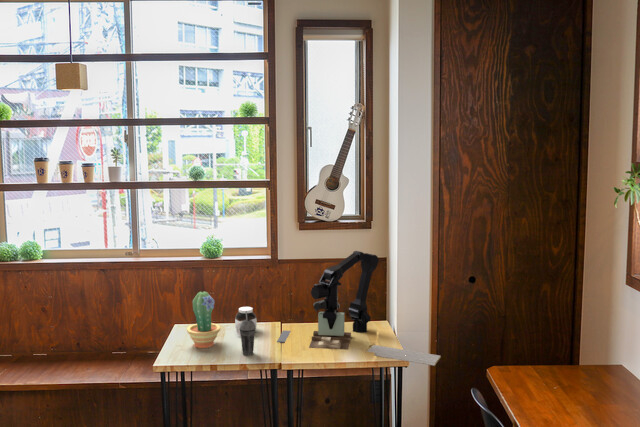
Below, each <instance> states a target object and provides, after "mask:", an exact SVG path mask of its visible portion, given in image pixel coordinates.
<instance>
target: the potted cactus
mask: <svg viewBox="0 0 640 427" xmlns="http://www.w3.org/2000/svg"><path fill="white" fill-rule="evenodd" d="M215 303H216V302H215V299H214V298H213V297H212V296H211V295H210V294H209V292H208V291H199V292H197V294H195V297H194V298H193V299H192V311H193V313H194V316H195V319H196V323H195V324H191V325H188V326H187V328H186V332H187V334H188V335H189V337H190V339H191V341H192V342H193V343H194V344H193V346H195V347H196V348H198V349H201V348H203V349H205V348H210V347H212V346H214V345H215V343H214V342H215V341H216V339H217V336H218V333H219V332H221V325H219V324H217V323H213V322H212V313H213V310H214V308H215Z"/></svg>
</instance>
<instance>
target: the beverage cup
mask: <svg viewBox="0 0 640 427" xmlns="http://www.w3.org/2000/svg"><path fill="white" fill-rule="evenodd" d="M239 330H240V334H241V336H240V340H241V352H242V355H243V356H247V357H248V356H252V355H253V354H254V347H255V346H254V345H255V335H256V330H257V326H256V327H255V324H254V322H253V321H252V320H249V319H247V311H246V320H244V321H243V322H242V323H241V324H240V329H239Z"/></svg>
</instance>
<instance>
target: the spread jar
mask: <svg viewBox="0 0 640 427" xmlns="http://www.w3.org/2000/svg"><path fill="white" fill-rule="evenodd" d="M253 309H254V308H253V307H251V306H241V307H239V308H238V312H237V313H236V315H235V319H234V320H235V321H234V322H235V323H234V324H235V329H236V330H235V331H236V333H237V335H239V336H240V337H241V334H240V330H239V329H240V324H241V323H242V322H243V321H244V320H246V311H247V319H249V320H252V321H253V322H254V324H255V327H256V328H257V324H258V323H257V315H256V314H255V313H254V312H253V311H254V310H253Z"/></svg>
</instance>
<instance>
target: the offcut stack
mask: <svg viewBox="0 0 640 427" xmlns="http://www.w3.org/2000/svg"><path fill="white" fill-rule="evenodd" d="M340 345H341V343H340V342H339V340H331V337H322V339H321V342H319V343H318V347H328V348H340Z"/></svg>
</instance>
